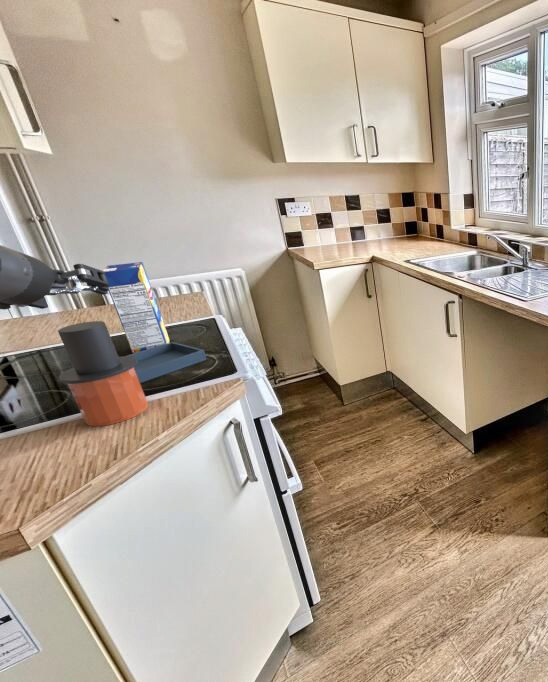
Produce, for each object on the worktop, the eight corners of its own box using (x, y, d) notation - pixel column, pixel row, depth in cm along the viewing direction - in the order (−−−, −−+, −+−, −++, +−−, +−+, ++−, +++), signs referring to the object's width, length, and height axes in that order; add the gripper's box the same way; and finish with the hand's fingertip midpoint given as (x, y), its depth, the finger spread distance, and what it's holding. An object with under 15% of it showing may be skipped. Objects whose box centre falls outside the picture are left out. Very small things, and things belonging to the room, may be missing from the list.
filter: (82, 404, 71) (53, 340, 67) (56, 392, 76) (27, 332, 72) (154, 378, 80) (132, 321, 76) (127, 369, 85) (105, 314, 81)
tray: (110, 393, 88) (106, 382, 87) (80, 381, 94) (76, 370, 93) (207, 359, 104) (204, 349, 103) (175, 351, 110) (172, 341, 109)
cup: (99, 430, 75) (79, 385, 71) (77, 419, 78) (57, 376, 75) (158, 407, 82) (142, 365, 79) (134, 398, 86) (118, 357, 83)
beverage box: (134, 358, 106) (101, 272, 98) (138, 345, 115) (107, 265, 107) (168, 351, 110) (138, 267, 102) (169, 340, 118) (142, 261, 110)
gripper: (50, 235, 60) (116, 265, 76) (-84, 260, 56) (15, 286, 71) (68, 284, 60) (130, 304, 76) (-64, 313, 56) (30, 328, 71)
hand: (74, 295), depth 73 cm, fingers open, 8 cm apart
